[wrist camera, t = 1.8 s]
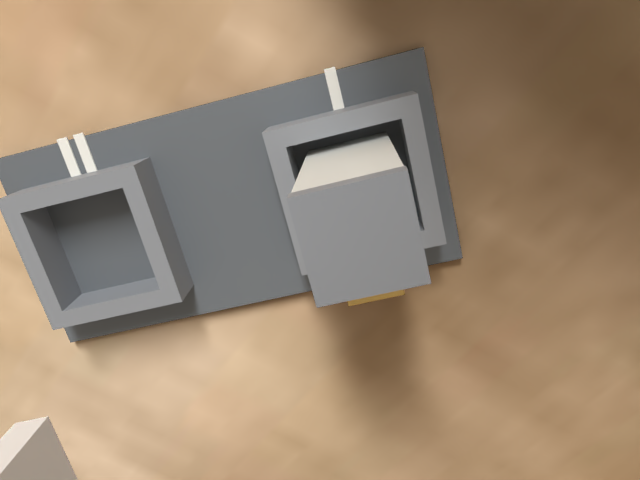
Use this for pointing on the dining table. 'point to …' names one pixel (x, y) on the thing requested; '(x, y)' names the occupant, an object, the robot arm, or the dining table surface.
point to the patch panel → (209, 197)
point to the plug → (357, 223)
